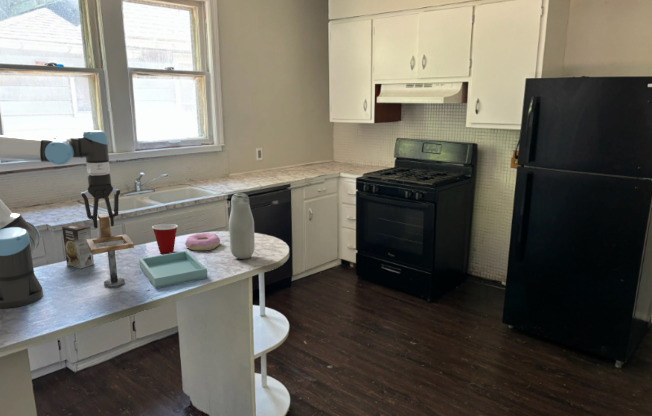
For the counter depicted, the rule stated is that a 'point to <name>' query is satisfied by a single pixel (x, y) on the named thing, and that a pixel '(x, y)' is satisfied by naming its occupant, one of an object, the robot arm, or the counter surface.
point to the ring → (108, 238)
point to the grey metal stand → (113, 272)
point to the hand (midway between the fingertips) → (104, 235)
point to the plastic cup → (165, 237)
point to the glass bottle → (241, 227)
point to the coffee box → (77, 245)
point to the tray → (172, 269)
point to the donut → (202, 241)
